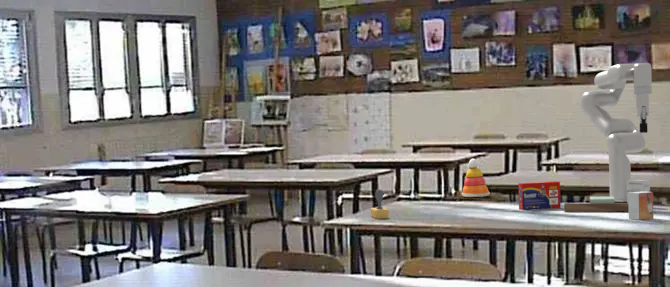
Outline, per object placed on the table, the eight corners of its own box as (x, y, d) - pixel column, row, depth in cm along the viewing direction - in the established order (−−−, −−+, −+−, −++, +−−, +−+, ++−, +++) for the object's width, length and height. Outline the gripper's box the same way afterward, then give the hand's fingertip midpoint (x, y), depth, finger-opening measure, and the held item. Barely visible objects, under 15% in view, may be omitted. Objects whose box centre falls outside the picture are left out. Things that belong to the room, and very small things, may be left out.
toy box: (556, 207, 435) (555, 181, 434) (560, 208, 431) (559, 181, 430) (518, 209, 430) (518, 183, 430) (522, 210, 427) (522, 183, 426)
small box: (638, 220, 378) (638, 193, 378) (628, 219, 383) (627, 192, 383) (654, 218, 382) (653, 191, 381) (643, 217, 387) (642, 190, 386)
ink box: (650, 207, 423) (650, 180, 423) (644, 208, 420) (643, 180, 419) (633, 206, 430) (633, 179, 429) (627, 207, 426) (626, 180, 426)
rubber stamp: (388, 218, 411) (388, 189, 411) (375, 218, 410) (374, 190, 410) (383, 215, 421) (383, 188, 421) (370, 216, 420) (369, 188, 420)
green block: (590, 209, 425) (589, 196, 425) (613, 209, 423) (613, 196, 423) (590, 212, 414) (589, 199, 413) (614, 212, 411) (614, 199, 411)
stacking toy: (492, 195, 500) (491, 157, 499) (486, 198, 487) (485, 159, 486) (465, 195, 505) (464, 157, 504) (458, 198, 492) (457, 159, 491)
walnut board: (564, 211, 416) (564, 203, 416) (633, 211, 409) (633, 202, 409) (564, 211, 414) (564, 203, 414) (633, 211, 407) (633, 203, 407)
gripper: (633, 91, 440) (634, 132, 441) (634, 91, 426) (635, 133, 426) (650, 91, 438) (651, 131, 439) (652, 90, 424) (653, 132, 424)
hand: (643, 132), depth 432 cm, fingers closed
